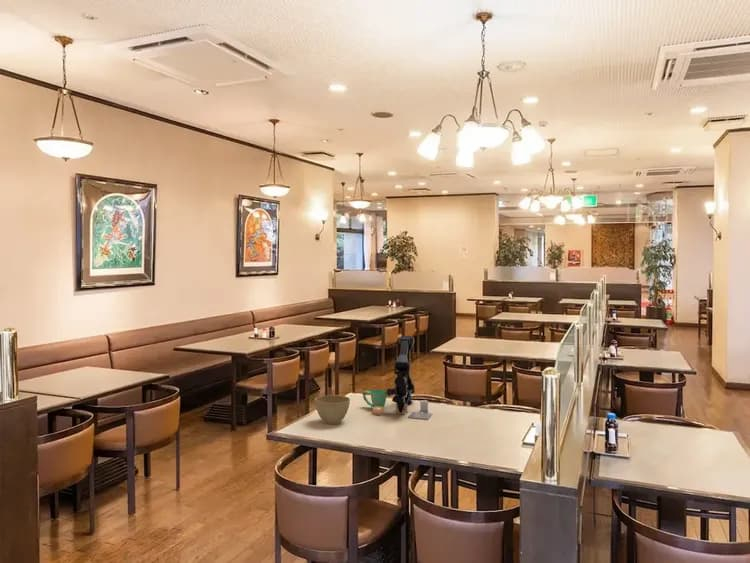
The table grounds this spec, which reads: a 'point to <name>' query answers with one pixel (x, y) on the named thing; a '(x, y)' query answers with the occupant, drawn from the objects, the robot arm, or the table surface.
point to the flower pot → (332, 408)
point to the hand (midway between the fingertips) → (401, 411)
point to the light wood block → (424, 406)
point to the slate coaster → (420, 415)
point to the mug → (376, 397)
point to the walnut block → (402, 410)
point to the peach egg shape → (378, 410)
